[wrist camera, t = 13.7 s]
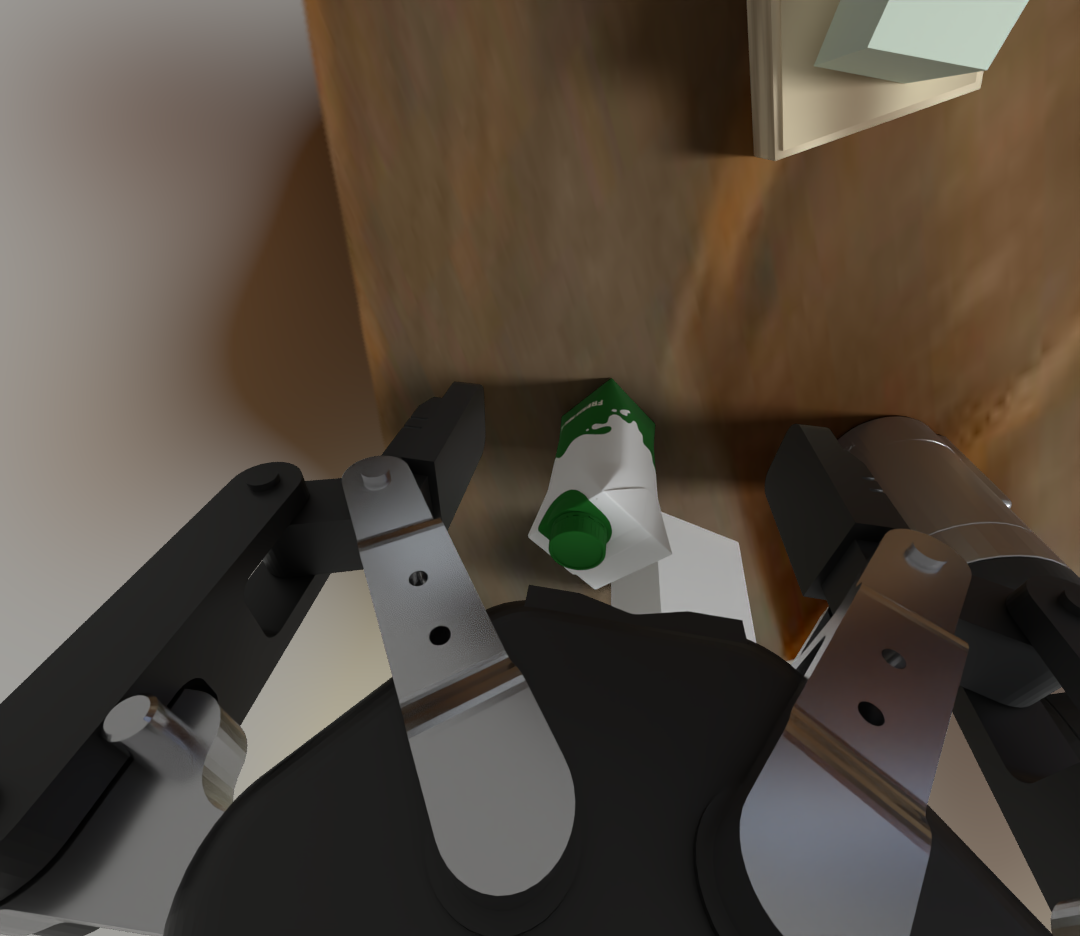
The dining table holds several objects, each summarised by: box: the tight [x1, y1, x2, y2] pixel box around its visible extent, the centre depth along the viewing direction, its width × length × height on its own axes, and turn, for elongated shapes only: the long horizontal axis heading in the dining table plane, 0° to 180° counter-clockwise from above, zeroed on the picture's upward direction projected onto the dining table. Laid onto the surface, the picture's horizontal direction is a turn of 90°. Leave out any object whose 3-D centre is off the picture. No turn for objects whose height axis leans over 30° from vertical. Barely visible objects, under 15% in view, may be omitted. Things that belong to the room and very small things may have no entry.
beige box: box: [747, 0, 983, 161], centre depth 25 cm, size 10×10×6 cm
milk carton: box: [528, 378, 672, 590], centre depth 38 cm, size 9×9×20 cm
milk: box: [611, 512, 756, 643], centre depth 47 cm, size 12×12×26 cm
